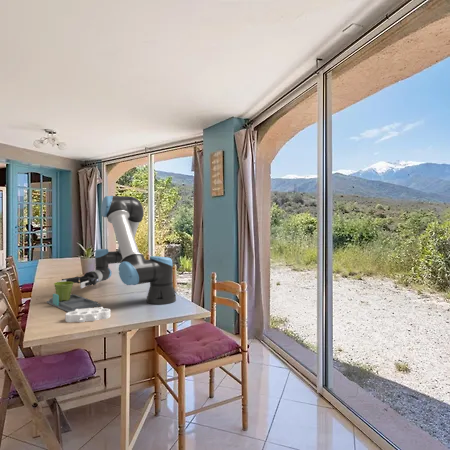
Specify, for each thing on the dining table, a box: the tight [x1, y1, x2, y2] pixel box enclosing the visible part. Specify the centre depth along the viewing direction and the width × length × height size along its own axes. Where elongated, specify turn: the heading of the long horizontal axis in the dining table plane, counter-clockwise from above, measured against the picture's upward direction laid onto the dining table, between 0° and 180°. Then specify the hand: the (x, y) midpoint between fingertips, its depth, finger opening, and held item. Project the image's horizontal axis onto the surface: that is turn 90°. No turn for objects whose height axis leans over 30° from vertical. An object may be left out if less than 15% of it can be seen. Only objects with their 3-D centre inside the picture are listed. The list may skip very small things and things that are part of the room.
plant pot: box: [53, 281, 75, 301], centre depth 169 cm, size 9×9×9 cm
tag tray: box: [46, 293, 102, 313], centre depth 163 cm, size 27×15×6 cm, turn 49°
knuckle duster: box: [64, 306, 111, 323], centre depth 142 cm, size 3×18×15 cm
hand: (68, 285), depth 170 cm, fingers open, 13 cm apart
